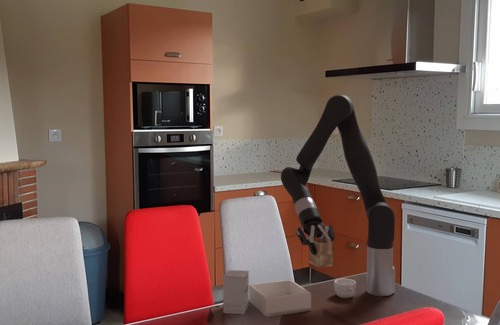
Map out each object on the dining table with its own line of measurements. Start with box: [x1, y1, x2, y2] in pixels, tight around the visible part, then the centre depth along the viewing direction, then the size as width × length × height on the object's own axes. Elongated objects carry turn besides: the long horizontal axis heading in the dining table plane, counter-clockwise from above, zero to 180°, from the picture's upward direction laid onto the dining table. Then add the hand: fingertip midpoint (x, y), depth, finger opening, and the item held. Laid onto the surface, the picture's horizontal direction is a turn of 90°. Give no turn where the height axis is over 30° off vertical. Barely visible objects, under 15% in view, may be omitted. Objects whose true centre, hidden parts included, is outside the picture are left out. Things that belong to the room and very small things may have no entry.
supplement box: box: [222, 269, 250, 315], centre depth 168 cm, size 7×7×13 cm
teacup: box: [333, 278, 357, 299], centre depth 180 cm, size 10×8×5 cm
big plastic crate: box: [249, 279, 312, 318], centre depth 172 cm, size 16×16×6 cm
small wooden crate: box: [308, 238, 334, 268], centre depth 173 cm, size 6×6×8 cm
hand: (323, 253), depth 171 cm, fingers closed on small wooden crate, 5 cm apart
